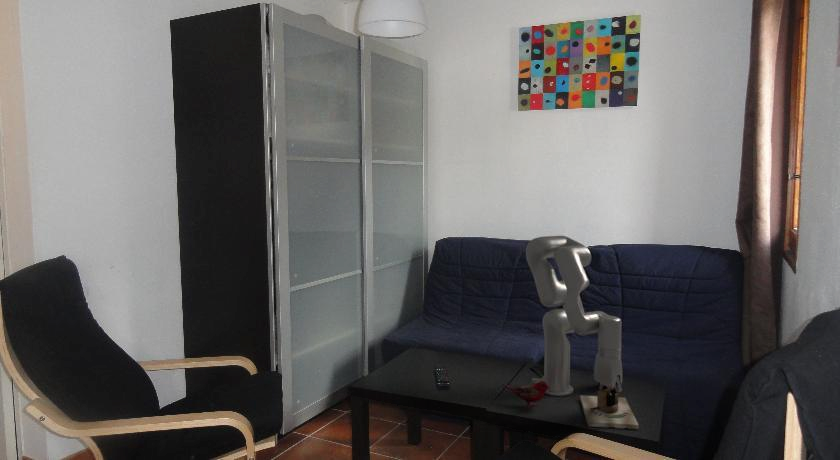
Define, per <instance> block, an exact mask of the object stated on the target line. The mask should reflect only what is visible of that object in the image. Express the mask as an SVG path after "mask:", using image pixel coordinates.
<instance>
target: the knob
mask: <svg viewBox="0 0 840 460" xmlns="http://www.w3.org/2000/svg"><path fill="white" fill-rule="evenodd" d="M612 389H613V388H612ZM607 394H608V389H604V390H600V389H599V390H597V396H598V397H597V407H594V408H590V410H596V409H599V410H601V411H604V412H616V411H618V397H619V394H620V393H619V392H617V394H615V405H612V406H607Z"/></svg>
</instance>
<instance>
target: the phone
mask: <svg viewBox="0 0 840 460" xmlns="http://www.w3.org/2000/svg"><path fill="white" fill-rule="evenodd" d="M530 370H532V371H533V372H534V371H535V372H534V373H535V374H537V375H538V376H540V378H543V376H544V364H543V365H531V366H530Z"/></svg>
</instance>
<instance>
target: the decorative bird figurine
mask: <svg viewBox="0 0 840 460" xmlns="http://www.w3.org/2000/svg"><path fill="white" fill-rule="evenodd" d="M502 386H503V387H505V388H507V389H508V390H510V391H512V392H513V393H514V395H515V394H516V396H517V397H519V398H520V399H521V400H523V401H524V402H526V403H525V405H526V406H530V407H534V408H535V407H539V406H538V405H535V404H532V403H537V402H538V401H540V400H542V399H543V398H544V396H545V394H546V393H545V392H546V391H547V389H550V388H549V387H548V386H547V383H546V382H544V381H541V382H538V383H534V384H532V385H524V386H519V387H512V386H508V385H506V384H502Z"/></svg>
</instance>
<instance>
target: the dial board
mask: <svg viewBox="0 0 840 460" xmlns="http://www.w3.org/2000/svg"><path fill="white" fill-rule="evenodd" d="M579 396H580V397H579V401H580V403H581V407H582V410H583V415H584V417H585V420H586V424H587V427H593V428H594V427H595V428H598V427H599V428H609V427H615V428H614V429H625V428H628V430H639V428H640V427H639V423H638V420H637V419H636V417H635V415H634V413H633V411H632V409H631V406H630V405H629V403H628V401H627V398H626V397H619V396H618V411H616V412H604V411H601V410H599V409H596V410H590V408H594V407H597V397H598V395H583V394H582V395H581V394H580V395H579Z"/></svg>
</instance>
